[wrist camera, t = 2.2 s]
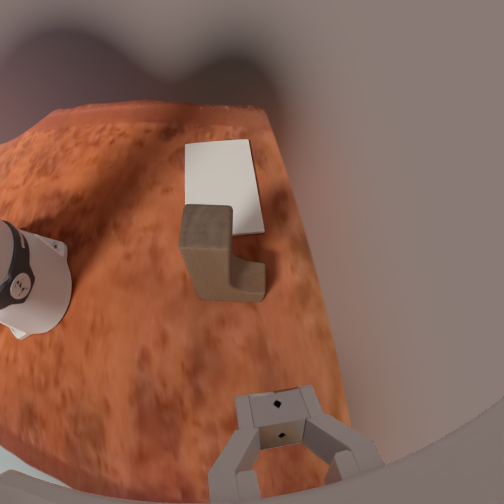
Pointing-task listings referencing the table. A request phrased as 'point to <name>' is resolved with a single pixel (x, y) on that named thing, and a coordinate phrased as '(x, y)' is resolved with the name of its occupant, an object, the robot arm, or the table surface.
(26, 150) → the table surface
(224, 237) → the wooden block
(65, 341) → the table surface
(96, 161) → the table surface
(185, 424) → the table surface
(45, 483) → the robot arm
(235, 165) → the white board
